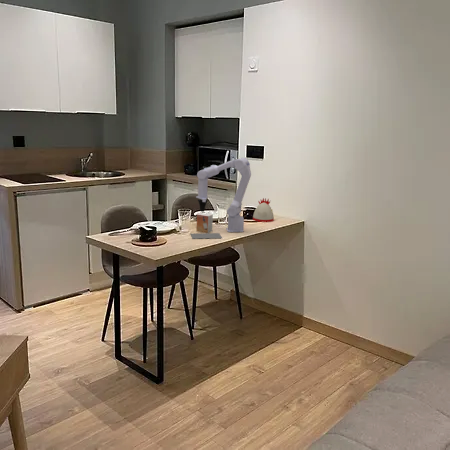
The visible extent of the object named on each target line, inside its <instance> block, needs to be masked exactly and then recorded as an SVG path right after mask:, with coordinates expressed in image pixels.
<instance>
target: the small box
mask: <svg viewBox="0 0 450 450" xmlns="http://www.w3.org/2000/svg"><path fill="white" fill-rule="evenodd" d="M213 218H214V215H213V214H209V213H204V212H201V213H197V214H196V229H195V230H196V232H200V233H213Z"/></svg>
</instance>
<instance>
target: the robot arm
mask: <svg viewBox="0 0 450 450" xmlns="http://www.w3.org/2000/svg"><path fill="white" fill-rule="evenodd" d="M229 168H231V169H235V170H237V171H238V172H239V174H240V175H241V177H240V180H239V182H238V186H237V187H236V188H237V189H236V192H235V194H234V198H233V200H232V201H231V203H230V206H229V207H228V208H227V210H226V213H227V227H226V228H225V229H226V230H227V232H228V233H244V226H245V219H244V216H241V212H242V203H243V199H244V196H245V193H246V190H247V188H248V186H249V183H250V180H251V176H252V171H251V163H250V162H249V160H248V159H247V158H246V157H241V158H234V159H232V160H228V161H226V162H224V163H222V164H219V165H216V164H212V165H210V166H208V167H204V168H203V169H201V170H199V171H197V174H196V177H197V178H198V181H197V183H198V185H197V195H196V196H195V198H196V199H197V202H198V205H199V210H200V212H201V213H204V212H205V209H206V205H207V203H208V200H207V199H208V197H209V196H208V184H209V183H208V181H209V180H208V179H209V178H211V177H214V176H216V175H219V173H220V172H221V171H223V170H226V169H229Z"/></svg>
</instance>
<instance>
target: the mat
mask: <svg viewBox="0 0 450 450" xmlns="http://www.w3.org/2000/svg"><path fill="white" fill-rule="evenodd" d="M190 236H191V239H192V240H208V239H209V240H212V239H213V240H215V239H216V240H217V239H218V240H222V239H223V237H222V236H221V234H220V233H219V232H216V233H215V232H209V233H204V232H200V233H196V232H195V233H190ZM221 238H222V239H221Z"/></svg>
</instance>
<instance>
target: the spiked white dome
mask: <svg viewBox="0 0 450 450" xmlns="http://www.w3.org/2000/svg"><path fill="white" fill-rule="evenodd" d="M269 199H270V198H264V197H263V198H262V199H260V200H258V205H257V206H256V208H255V210H254V212H253V215H252V220H253V221H255V222H258V223H271V222H274V221H275V220H274V216H275V215H274V211H273V209H272V207H271V206H270V203H271V201H269Z"/></svg>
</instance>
